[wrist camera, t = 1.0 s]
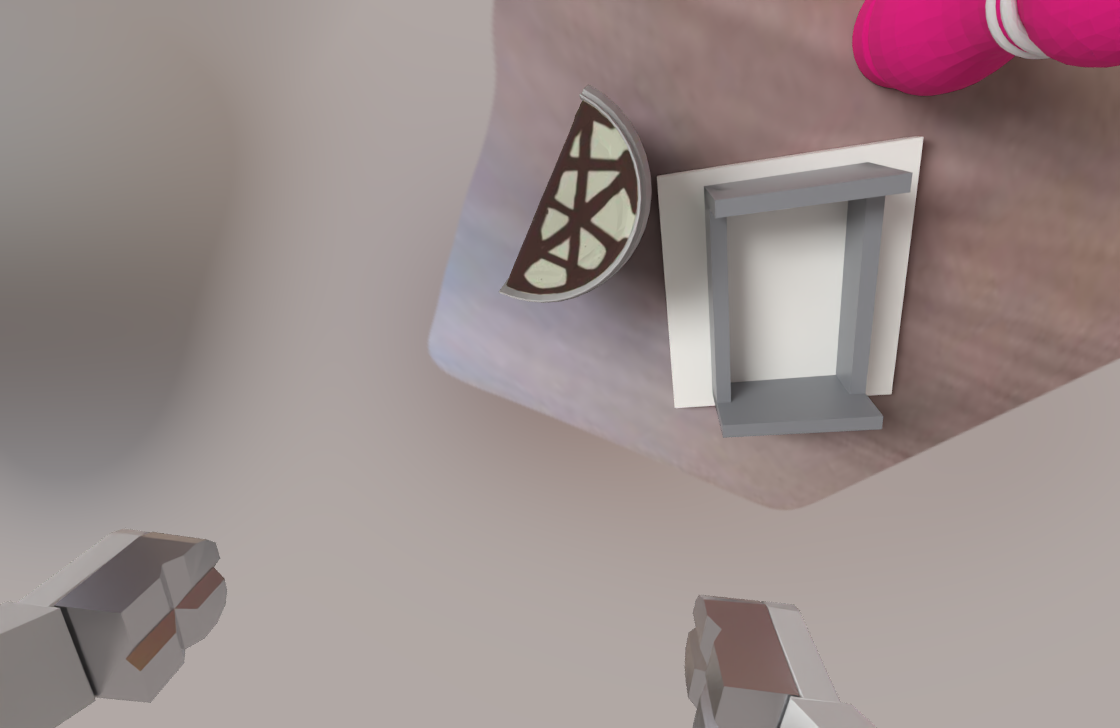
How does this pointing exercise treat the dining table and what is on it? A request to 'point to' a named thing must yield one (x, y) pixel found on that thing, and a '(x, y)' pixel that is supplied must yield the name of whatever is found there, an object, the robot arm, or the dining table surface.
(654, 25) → the dining table surface
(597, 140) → the food container
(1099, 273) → the dining table surface
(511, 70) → the dining table surface
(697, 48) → the dining table surface
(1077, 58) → the pepper mill
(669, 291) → the slot stand
